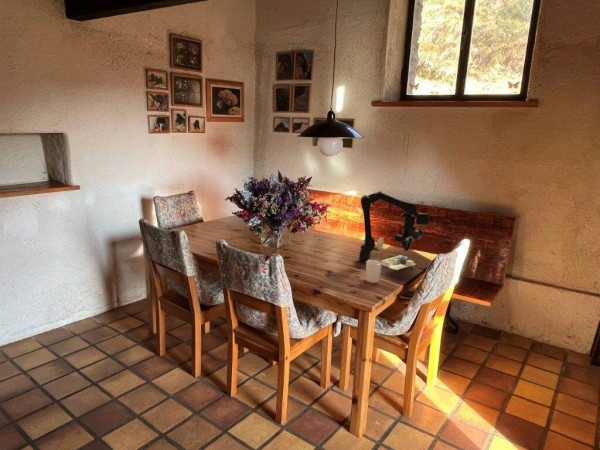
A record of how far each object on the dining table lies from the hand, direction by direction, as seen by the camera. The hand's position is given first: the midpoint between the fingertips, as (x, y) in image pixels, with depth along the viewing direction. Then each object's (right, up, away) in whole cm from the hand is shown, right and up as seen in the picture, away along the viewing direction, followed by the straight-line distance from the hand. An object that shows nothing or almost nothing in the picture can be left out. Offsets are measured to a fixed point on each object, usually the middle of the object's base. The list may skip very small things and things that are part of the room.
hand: (406, 250), depth 245 cm
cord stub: (-1, -8, +2) cm, 8 cm away
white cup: (-23, -14, -23) cm, 36 cm away
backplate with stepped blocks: (-4, -9, +1) cm, 10 cm away
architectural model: (-9, -1, +35) cm, 36 cm away
